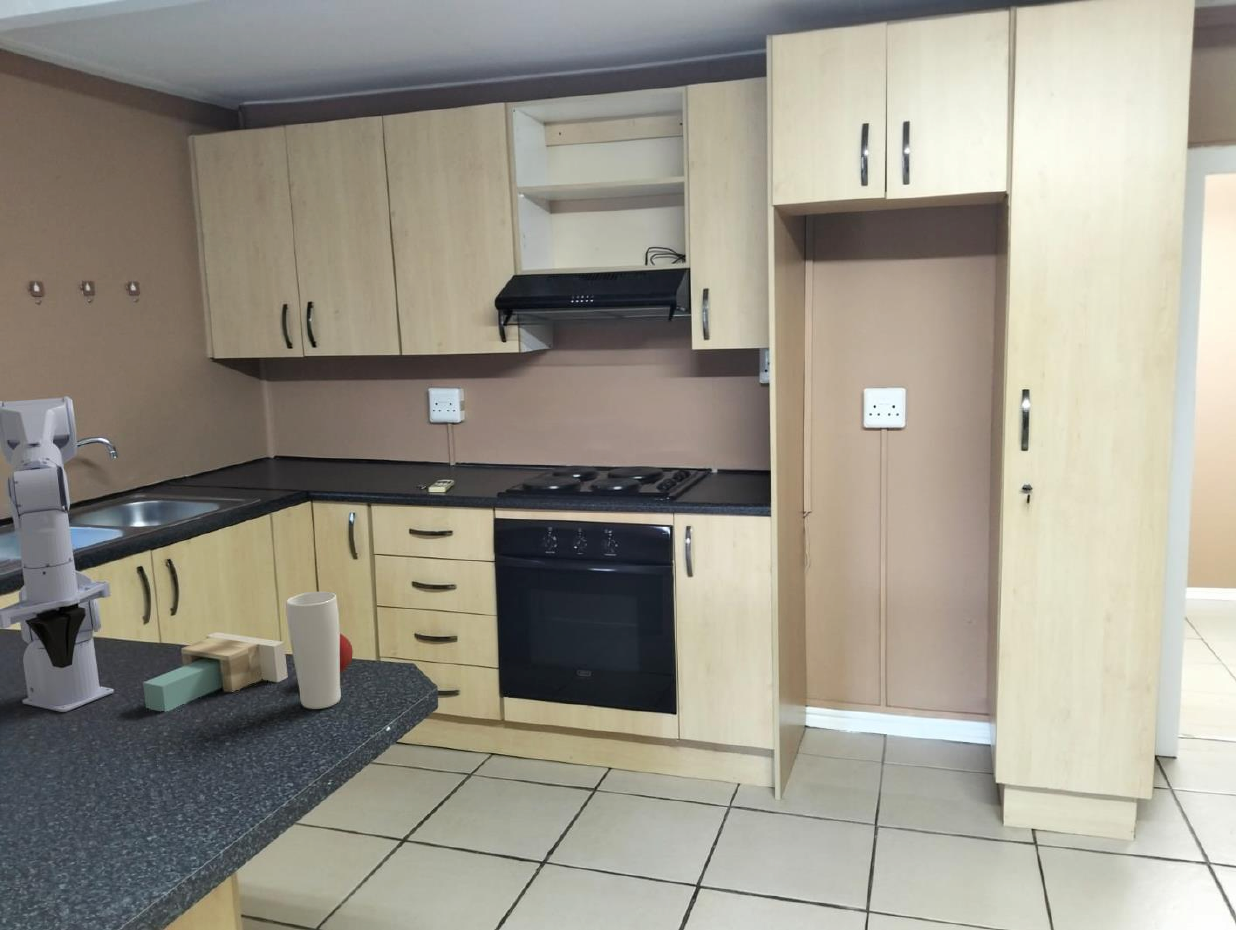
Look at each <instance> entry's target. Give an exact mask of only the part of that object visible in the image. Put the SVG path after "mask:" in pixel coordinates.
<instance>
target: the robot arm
mask: <svg viewBox="0 0 1236 930" xmlns="http://www.w3.org/2000/svg"><path fill="white" fill-rule="evenodd" d="M73 403H74V402H73V399H72V398H70V397H69V396H67V395H66V396H63V397H56V398H53V397H51V398H40V399H29V400H27V399H26V400H15V401H14V400H12V401H3V400H0V446H1V450H2V451H1V452H2V455H3V456H4V457H5V459H6V460H5V461H6V463H8V464H10V465H11V476H9V475H8V476H6V478H5V486H6V496H7V497H6V498H7V503H8V508H9V511H10V514H11V517H12V520H13V524H14V526H13V527H14V531H15V533H17V539H18V546H19V554H20V561H21V567H22V576H23V582H24V584H23V586H22V587H21V588H20V589H19V590H20V591H19V592H18V601H17V602H15V603H13V604H10V605H8V606H5V607H3V608H0V629H1V630H3V629H7V628H10V627H12V625H15V624H19V625H20V632H21V637H22V640H23V641H24V642H26V643H27V644H28V645H27V647H26V649H25V651H24V653H23V656H22V657H23V659H22V662H23V670H24V676H25V683H26V691H27V696H28V697H27V698H24V699H22V704H24V705H29V706H34V707H38V708H43V709H48V710H52V711H56V712H61V713H65V712H69V711H71V710H73V709H76V708H78V707H81V706H83V705H86V704H88V703H91V702H93V701H96V700H98V699H101V698H104V697H106V696H108V695H110V694H113V693H114V692H115V690H114V688H110V687H106V686H100V681H99V680H100V679H99V672H98V666H97V659H96V658H97V657H96V649H95V643H94V633H98V632H99V631H100V630H101V628H102V620H101V612H100V611H101V610H100V605H99V604H100V603H99V599H100V598H101V599H105V598H109V597H111V595H112V593H111V586H110V582H109V581H102V580H99V581H94V580H93V578H92V577H91V576H89V575H87V574H85V573H82V572H81V571H79V570H76V566H75V559H74V551H73V544H72V537H71V529H70V528H71V527H70V522H69V513H68V512H67V511H70V506H71V501H70V500H71V499H70V491H69V483H68V477H67V476H68V475H67V473H66V471H65V469H64V467H65V464H66V463H67V462H68V461H70V460H72V459H73V458H75V457H76V456H77V451H76V450H77V449H78V441H77V426H76V420H75V419H76V418H75V411H74V405H73ZM65 508H66V509H67V510H66V509H65Z"/></svg>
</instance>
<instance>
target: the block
mask: <svg viewBox="0 0 1236 930" xmlns="http://www.w3.org/2000/svg"><path fill="white" fill-rule="evenodd" d="M180 650H181V651H180V652H181V659H182V667H183V666H186V665H188V664H191V663H193V662H196V661H198V660H201V659H203V658H206V657H208V658H214V659H220V664H221V673H222V682H223V688H222V689H223V690H225V691H230V692H234V691H235V690H238V691H240V689H241V688H243V687H245V686H247V685H249V684H252V683H254V684H256V683H257V682H261V681H263V680H262V673H261V663H260V654H259V644H255V643H248V642H241V641H235V640H228V639H222V638H215V637H210V638H205V639H203V640H200V641H197V642H195V643H192V644H190V645H188V646H184V647H182V648H180ZM252 685H253V684H252ZM249 686H250V685H249ZM247 687H248V686H247ZM245 688H246V687H245ZM243 689H244V688H243ZM241 690H242V689H241ZM225 691H224V692H225ZM230 692H229V693H230ZM234 693H235V692H234Z"/></svg>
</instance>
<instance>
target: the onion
mask: <svg viewBox="0 0 1236 930" xmlns="http://www.w3.org/2000/svg"><path fill="white" fill-rule="evenodd" d="M353 652H354V651H353V646H352V644H351V641H350V640H349V639H348V638H347V637H346V636H344V635H343V634H341V633H340V675H341V674H342V673H343V672H345V670H347V668H349V666H350V665H351V662H352V660H353V654H354V653H353Z"/></svg>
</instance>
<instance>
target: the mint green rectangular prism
mask: <svg viewBox="0 0 1236 930" xmlns="http://www.w3.org/2000/svg"><path fill="white" fill-rule="evenodd" d="M142 686H143V693H144V694H143V695H144V701H145V709H147V708H149V709H148V710H153V711H158V712H161V711H165V712H164V713H167V712H166V711H168V712H170V711H172V710H175V709H177V708H179V707H181V706H180V705H182V704H184V705H186V704H188V703H190V702H189V701H191V700H193V701H195V700H197V699H199V698H198V697H200V698H202V697H203V695H204V696H206V695H205V694H207V693H209V692H211V691H213V690H216V689H218V690H220V689H222V688H221V687H223V682H222V673H221V664H220V659H214V658H208V657H206V658H203V659H201V660H198V661H196V662H193V663H191V664H188V665H186V666H183V665H182V666H180V667H178V668H176V669H174V670H171V671H169V672H165V673H164V674H160V675H159V676H156V677H154V678H151V679H149V680H146V681H143V682H142ZM219 688H220V689H219ZM216 691H217V690H216ZM213 692H214V691H213ZM211 693H212V692H211ZM209 694H210V693H209ZM207 695H208V694H207ZM201 696H202V697H201ZM196 698H197V699H196ZM194 699H195V700H194ZM187 702H188V703H187ZM191 702H192V701H191ZM178 706H179V707H178ZM182 706H183V705H182ZM176 707H177V708H176ZM174 708H175V709H174Z"/></svg>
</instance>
